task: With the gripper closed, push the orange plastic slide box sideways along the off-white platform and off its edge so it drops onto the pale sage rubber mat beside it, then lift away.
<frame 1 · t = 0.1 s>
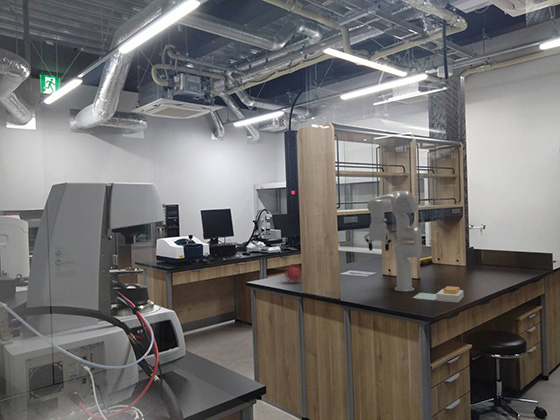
hand: (378, 250, 240), 31 cm above the worktop, fingers open, 9 cm apart
virus model: (294, 283, 316), on the worktop
platform: (450, 298, 247), on the worktop
mat: (427, 296, 255), on the worktop
slide box: (451, 290, 246), point 5 cm above the worktop, touching platform
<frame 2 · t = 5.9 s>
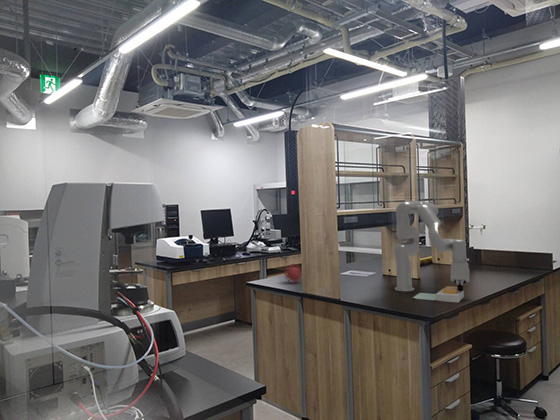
hand: (460, 291, 244), 5 cm above the worktop, fingers closed
slide box: (451, 290, 247), point 5 cm above the worktop, touching gripper
everything else where it was.
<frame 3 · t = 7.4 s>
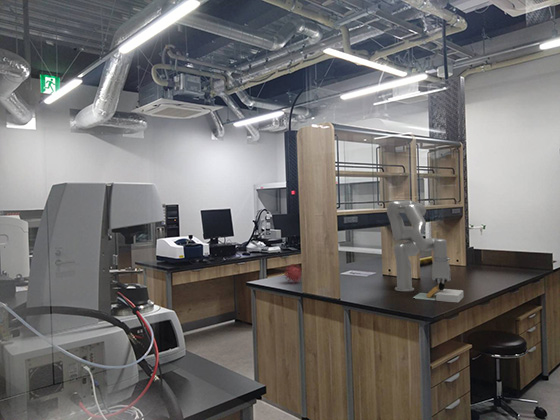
hand: (441, 289, 250), 5 cm above the worktop, fingers closed
slide box: (434, 291, 252), point 4 cm above the worktop, tilted 46°, touching gripper, mat
everything else where it was.
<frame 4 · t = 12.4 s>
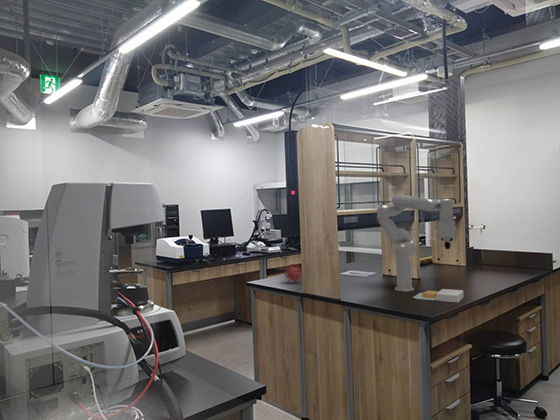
hand: (447, 248, 254), 29 cm above the worktop, fingers closed
slide box: (431, 294, 254), point 2 cm above the worktop, touching mat
everything else where it was.
at the end: slide box inside the target area on the mat (2.4 cm from its centre), point 1.6 cm above the mat's base; the gripper is holding nothing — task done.
